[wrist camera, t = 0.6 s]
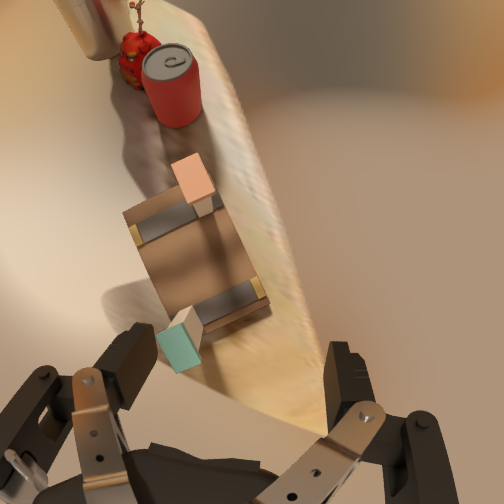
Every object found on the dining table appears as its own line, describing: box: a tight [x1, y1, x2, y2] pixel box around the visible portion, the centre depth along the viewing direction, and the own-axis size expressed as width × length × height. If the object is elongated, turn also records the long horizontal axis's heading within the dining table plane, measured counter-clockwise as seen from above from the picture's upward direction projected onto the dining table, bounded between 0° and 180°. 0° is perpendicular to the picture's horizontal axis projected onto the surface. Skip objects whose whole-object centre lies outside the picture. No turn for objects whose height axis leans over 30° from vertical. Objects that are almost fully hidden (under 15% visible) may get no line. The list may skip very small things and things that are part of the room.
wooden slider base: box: [123, 171, 270, 335], centre depth 36 cm, size 18×12×2 cm, turn 25°
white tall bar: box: [171, 152, 216, 218], centre depth 29 cm, size 4×2×12 cm, turn 25°
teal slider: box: [155, 305, 203, 374], centre depth 29 cm, size 4×2×12 cm, turn 25°
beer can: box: [141, 43, 202, 128], centre depth 32 cm, size 7×7×12 cm
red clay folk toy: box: [118, 0, 161, 90], centre depth 30 cm, size 8×7×15 cm
